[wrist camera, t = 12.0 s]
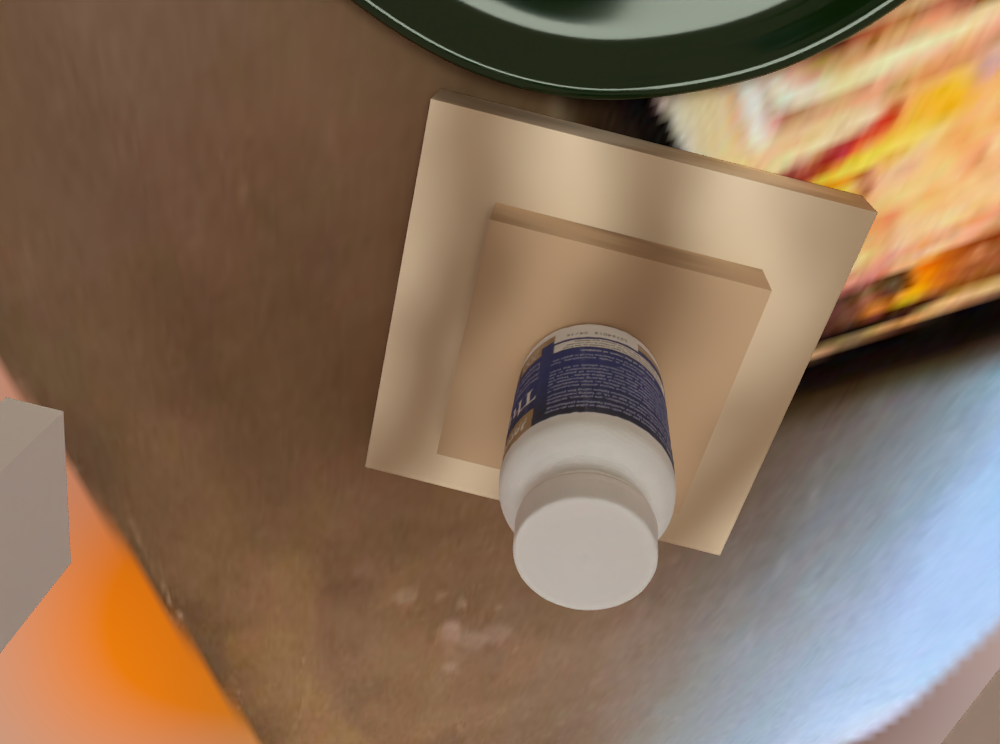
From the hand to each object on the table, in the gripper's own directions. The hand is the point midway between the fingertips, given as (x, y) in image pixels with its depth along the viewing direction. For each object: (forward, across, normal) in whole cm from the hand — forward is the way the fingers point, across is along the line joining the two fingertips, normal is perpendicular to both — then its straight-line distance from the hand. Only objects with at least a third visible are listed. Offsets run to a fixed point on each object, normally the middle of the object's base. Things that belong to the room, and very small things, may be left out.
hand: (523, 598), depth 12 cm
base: (+23, +3, -7) cm, 24 cm away
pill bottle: (+19, +3, -7) cm, 20 cm away
